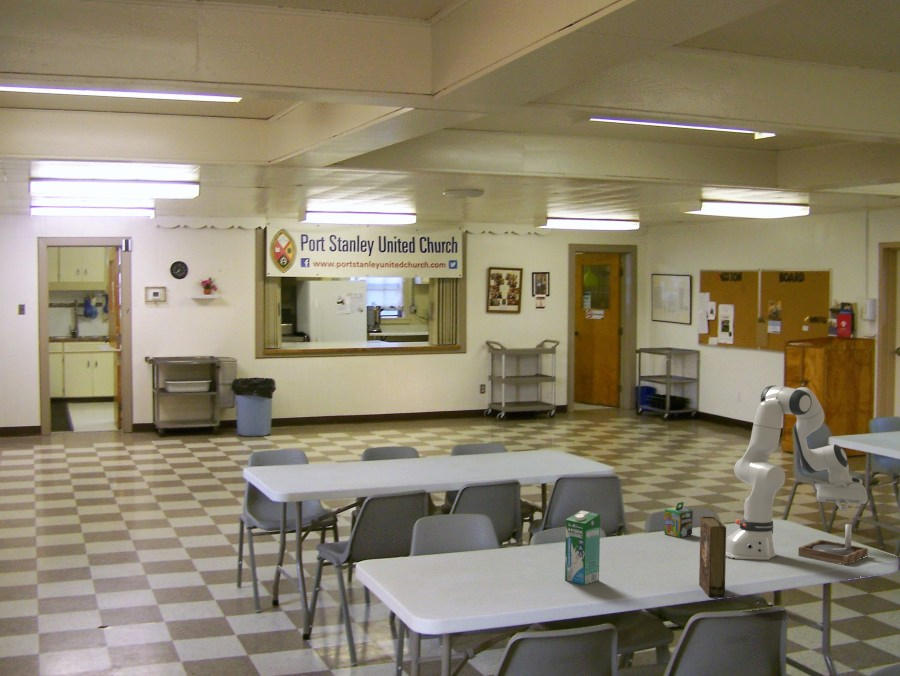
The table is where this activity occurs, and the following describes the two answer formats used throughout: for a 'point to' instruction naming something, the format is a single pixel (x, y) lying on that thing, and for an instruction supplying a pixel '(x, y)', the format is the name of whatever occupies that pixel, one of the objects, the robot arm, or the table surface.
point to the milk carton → (582, 547)
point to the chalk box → (678, 521)
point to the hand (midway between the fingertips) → (843, 510)
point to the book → (712, 556)
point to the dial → (836, 548)
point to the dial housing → (832, 557)
